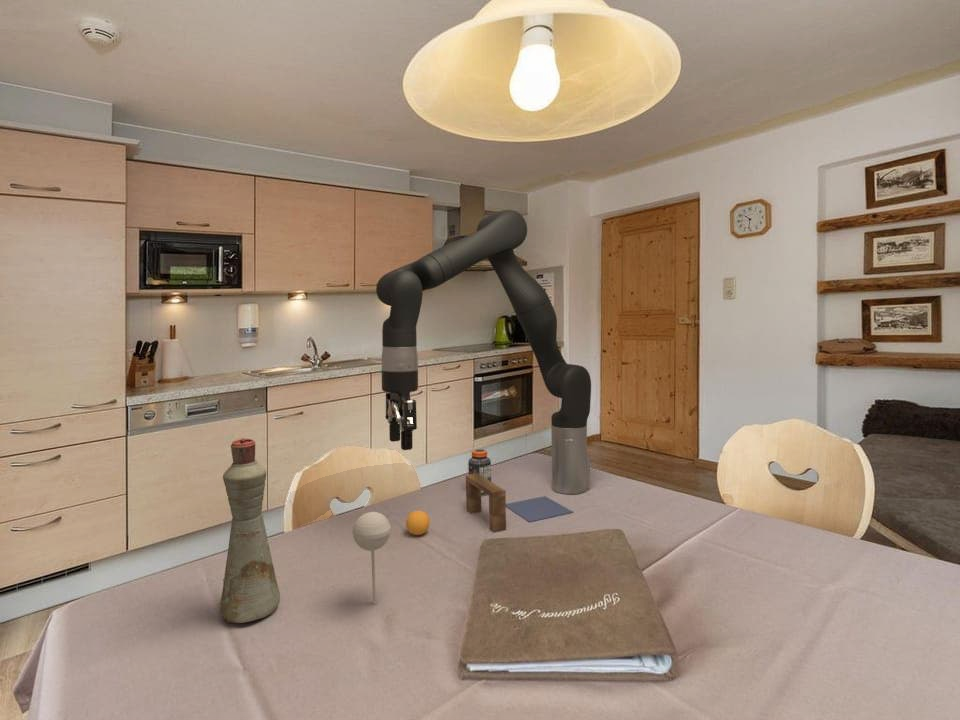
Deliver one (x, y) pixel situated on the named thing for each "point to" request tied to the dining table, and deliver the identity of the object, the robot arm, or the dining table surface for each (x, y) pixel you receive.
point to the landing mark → (538, 508)
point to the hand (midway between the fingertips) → (400, 445)
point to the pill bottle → (480, 464)
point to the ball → (417, 522)
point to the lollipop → (372, 536)
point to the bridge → (496, 500)
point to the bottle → (247, 542)
